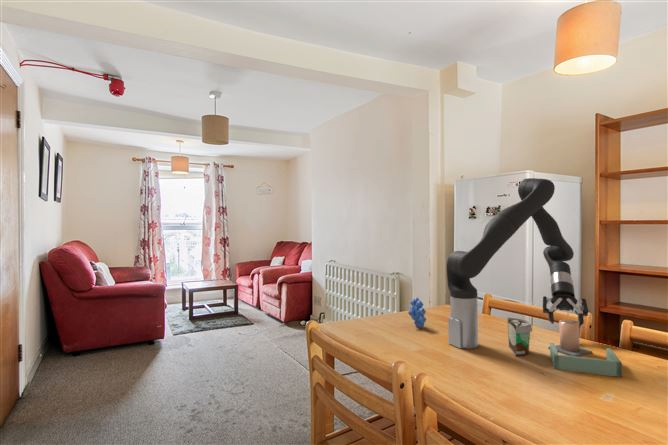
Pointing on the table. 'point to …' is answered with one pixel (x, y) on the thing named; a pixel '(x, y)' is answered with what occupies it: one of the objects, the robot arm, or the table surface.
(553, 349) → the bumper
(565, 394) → the table surface
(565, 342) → the brown cylinder
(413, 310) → the grapes
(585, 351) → the mat
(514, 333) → the food container
